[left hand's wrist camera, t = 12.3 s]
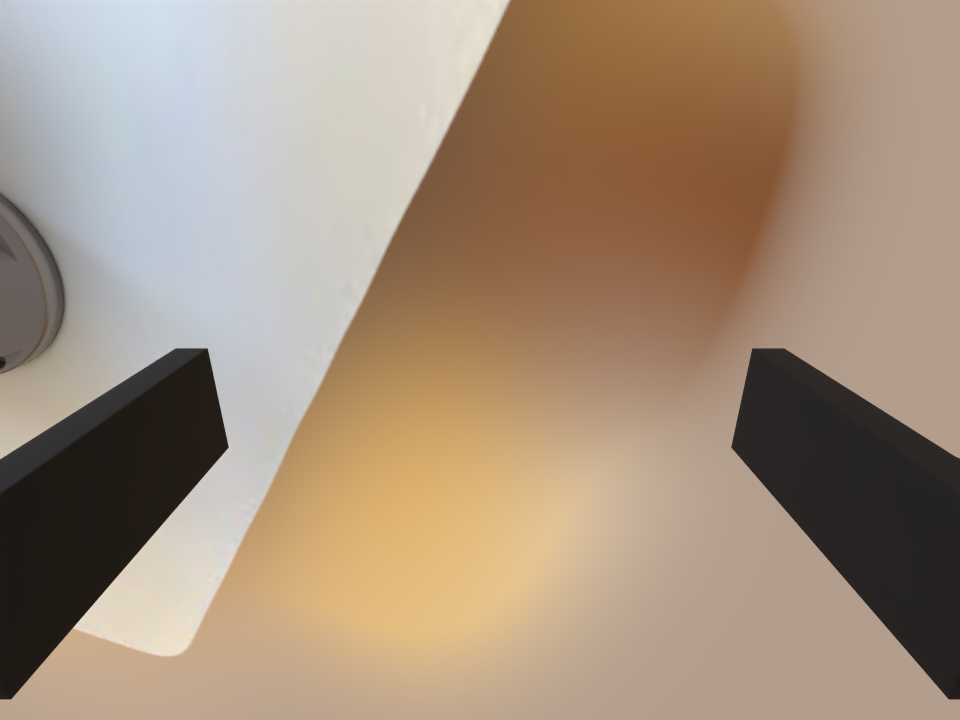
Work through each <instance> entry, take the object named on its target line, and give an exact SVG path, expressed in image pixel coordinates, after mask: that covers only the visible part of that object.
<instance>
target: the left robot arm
mask: <svg viewBox="0 0 960 720" xmlns="http://www.w3.org/2000/svg"><path fill="white" fill-rule="evenodd" d="M62 312H63V295H62V287H61V282H60V278H59V275H58V271H57V269H56V266H55V263H54V261H53V259H52V257H51V254H50V252H49V250H48V249H47V247H46V245H45V244H44V242H43V240H42V239H41V237H40V236H39V234H38V233H37V231H36V230H35V229H34V228H33V226H32V225H31V224H30V223H29V221H28V220H27V219H26V218H25V217H24V216H23V215H22V214H21V213H20V212H19V211H18V210H17V209H16V208H15V207H14V206H13V205H12V204H11V203H10V202H9V201H7V200H6V199H5V198H4V197H3V196H1V195H0V374H1V373H4V372H7V371H9V370H12V369H14V368H16V367H18V366H21V365H23V364H25V363H27V362H29V361H31V360H33V359H34V358H36V357H37V356H39V355H40V354H41V353H42V352H43V351H44V350H45V349H46V348H47V347H48V346H49V345H50V343H51V342H52V341H53V339H54V337H55V336H56V333H57V331H58V329H59V326H60V322H61V318H62ZM228 448H229V447H228V442H227V437H226V433H225V428H224V423H223V419H222V414H221V409H220V404H219V400H218V395H217V390H216V386H215V381H214V376H213V372H212V367H211V362H210V357H209V353H208V349H174V350H173V351H171V352H170V353H168V354H166V355H165V356H163V357H162V358H160V359H158V360H157V361H155V362H154V363H152V364H151V365H149V366H147V367H146V368H144V369H143V370H141V371H139V372H138V373H136V374H135V375H133V376H132V377H130V378H128V379H127V380H125V381H124V382H122V383H120V384H119V385H117V386H116V387H114V388H113V389H111V390H109V391H108V392H106V393H105V394H103V395H101V396H100V397H98V398H97V399H95V400H94V401H92V402H90V403H89V404H87V405H86V406H84V407H82V408H81V409H79V410H78V411H76V412H75V413H73V414H71V415H70V416H68V417H67V418H65V419H63V420H62V421H60V422H59V423H57V424H56V425H54V426H52V427H51V428H49V429H48V430H46V431H45V432H43V433H41V434H40V435H38V436H37V437H35V438H33V439H32V440H30V441H29V442H27V443H26V444H24V445H22V446H21V447H19V448H18V449H16V450H14V451H13V452H11V453H10V454H8V455H7V456H5V457H3V458H2V459H0V699H12V698H13V697H14V695H15V694H16V693H17V692H18V691H19V690H20V688H21V687H22V686H23V685H24V684H25V683H26V682H27V680H28V679H29V678H30V677H31V676H32V675H33V673H34V672H35V671H36V670H37V669H38V668H39V666H40V665H41V664H42V663H43V662H44V661H45V660H46V658H47V657H48V656H49V655H50V654H51V653H52V651H53V650H54V649H55V648H56V647H57V646H58V644H59V643H60V642H61V641H62V640H63V639H64V637H65V636H66V635H67V634H68V633H69V632H70V631H71V629H72V628H73V627H74V626H75V625H76V624H77V622H78V621H79V620H80V619H81V618H82V617H83V616H84V614H85V613H86V612H87V611H88V610H89V609H90V607H91V606H92V605H93V604H94V603H95V602H96V600H97V599H98V598H99V597H100V596H101V595H102V594H103V592H104V591H105V590H106V589H107V588H108V587H109V585H110V584H111V583H112V582H113V581H114V580H115V578H116V577H117V576H118V575H119V574H120V573H121V572H122V570H123V569H124V568H125V567H126V566H127V565H128V563H129V562H130V561H131V560H132V559H133V558H134V556H135V555H136V554H137V553H138V552H139V551H140V550H141V548H142V547H143V546H144V545H145V544H146V543H147V541H148V540H149V539H150V538H151V537H152V536H153V534H154V533H155V532H156V531H157V530H158V529H159V528H160V526H161V525H162V524H163V523H164V522H165V521H166V519H167V518H168V517H169V516H170V515H171V514H172V512H173V511H174V510H175V509H176V508H177V507H178V505H179V504H180V503H181V502H182V501H183V500H184V499H185V497H186V496H187V495H188V494H189V493H190V492H191V490H192V489H193V488H194V487H195V486H196V485H197V483H198V482H199V481H200V480H201V479H202V478H203V477H204V475H205V474H206V473H207V472H208V471H209V470H210V468H211V467H212V466H213V465H214V464H215V463H216V461H217V460H218V459H219V458H220V457H221V456H222V455H223V453H224V452H225V451H226V450H227V449H228ZM732 449H733V450H734V451H735V452H736V453H737V455H738V456H739V457H740V458H741V459H742V460H743V461H744V463H745V464H746V465H747V466H748V467H749V468H750V470H751V471H752V472H753V473H754V474H755V475H756V477H757V478H758V479H759V480H760V481H761V482H762V483H763V485H764V486H765V487H766V488H767V489H768V490H769V492H770V493H771V494H772V495H773V496H774V497H775V499H776V500H777V501H778V502H779V503H780V504H781V506H782V507H783V508H784V509H785V510H786V511H787V512H788V514H789V515H790V516H791V517H792V518H793V519H794V521H795V522H796V523H797V524H798V525H799V526H800V527H801V529H802V530H803V531H804V532H805V533H806V534H807V536H808V537H809V538H810V539H811V540H812V541H813V543H814V544H815V545H816V546H817V547H818V548H819V550H820V551H821V552H822V553H823V554H824V555H825V556H826V558H827V559H828V560H829V561H830V562H831V563H832V565H833V566H834V567H835V568H836V569H837V570H838V572H839V573H840V574H841V575H842V576H843V577H844V578H845V580H846V581H847V582H848V583H849V584H850V585H851V587H852V588H853V589H854V590H855V591H856V592H857V594H858V595H859V596H860V597H861V598H862V599H863V600H864V602H865V603H866V604H867V605H868V606H869V607H870V609H871V610H872V611H873V612H874V613H875V614H876V616H877V617H878V618H879V619H880V620H881V621H882V622H883V624H884V625H885V626H886V627H887V628H888V629H889V631H890V632H891V633H892V634H893V635H894V636H895V637H896V639H897V640H898V641H899V642H900V643H901V644H902V646H903V647H904V648H905V649H906V650H907V651H908V653H909V654H910V655H911V656H912V657H913V658H914V659H915V661H916V662H917V663H918V664H919V665H920V666H921V668H922V669H923V670H924V671H925V672H926V673H927V675H928V676H929V677H930V678H931V679H932V680H933V682H934V683H935V684H936V685H937V686H938V687H939V688H940V690H941V691H942V692H943V693H944V694H945V695H946V697H947V698H948V699H960V458H957V457H955V456H953V455H952V454H950V453H949V452H947V451H946V450H944V449H942V448H941V447H939V446H938V445H936V444H934V443H933V442H931V441H930V440H928V439H926V438H925V437H923V436H922V435H920V434H919V433H917V432H915V431H914V430H912V429H911V428H909V427H908V426H906V425H904V424H903V423H901V422H900V421H898V420H897V419H895V418H893V417H892V416H890V415H889V414H887V413H885V412H884V411H882V410H881V409H879V408H878V407H876V406H874V405H873V404H871V403H870V402H868V401H866V400H865V399H863V398H862V397H860V396H859V395H857V394H855V393H854V392H852V391H851V390H849V389H847V388H846V387H844V386H843V385H841V384H839V383H838V382H836V381H835V380H833V379H832V378H830V377H828V376H827V375H825V374H824V373H822V372H821V371H819V370H817V369H816V368H814V367H813V366H811V365H809V364H808V363H806V362H805V361H803V360H802V359H800V358H798V357H797V356H795V355H794V354H792V353H790V352H789V351H787V350H786V349H752V353H751V358H750V362H749V367H748V372H747V376H746V381H745V386H744V390H743V395H742V400H741V405H740V409H739V414H738V419H737V423H736V428H735V433H734V437H733V442H732Z"/></svg>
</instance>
